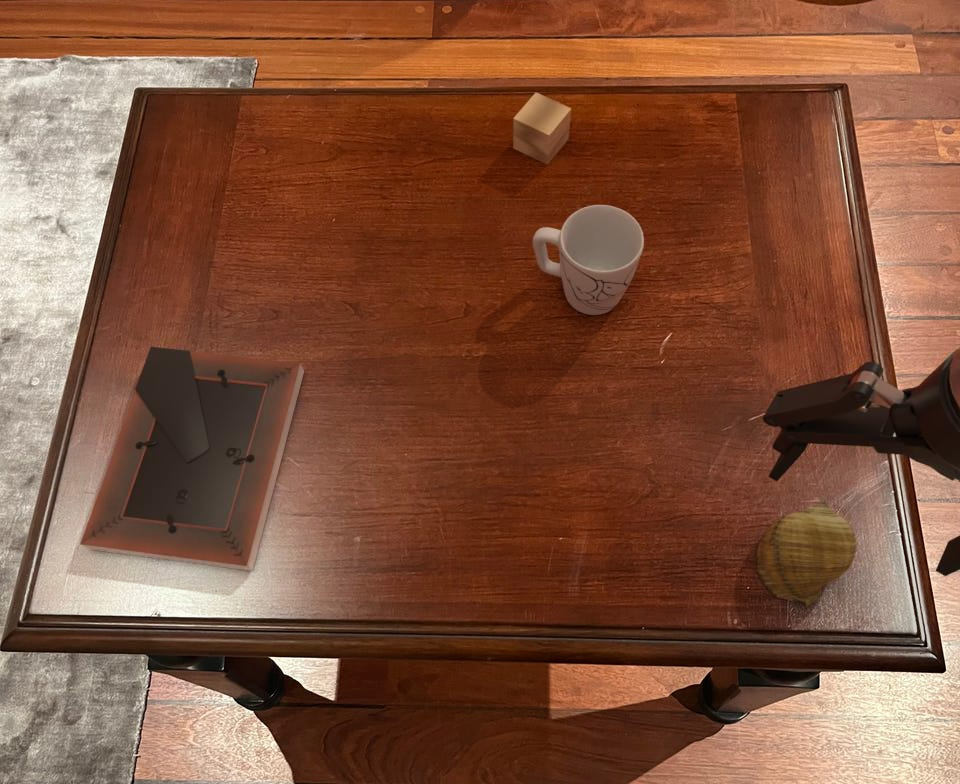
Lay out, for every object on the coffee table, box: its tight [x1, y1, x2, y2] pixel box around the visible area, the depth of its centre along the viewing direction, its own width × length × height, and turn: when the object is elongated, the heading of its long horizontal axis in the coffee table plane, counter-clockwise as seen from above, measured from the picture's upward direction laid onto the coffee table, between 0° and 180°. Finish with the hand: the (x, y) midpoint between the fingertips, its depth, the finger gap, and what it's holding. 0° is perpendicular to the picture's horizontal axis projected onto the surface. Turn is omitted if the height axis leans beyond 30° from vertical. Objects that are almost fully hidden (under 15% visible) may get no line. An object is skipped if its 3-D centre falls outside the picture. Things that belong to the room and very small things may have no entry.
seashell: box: [755, 501, 857, 608], centre depth 73 cm, size 10×7×8 cm
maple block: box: [512, 92, 572, 166], centre depth 97 cm, size 5×5×5 cm
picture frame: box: [79, 346, 305, 572], centre depth 81 cm, size 16×2×22 cm
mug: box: [532, 204, 645, 316], centre depth 85 cm, size 11×8×10 cm
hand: (860, 511), depth 62 cm, fingers open, 13 cm apart
